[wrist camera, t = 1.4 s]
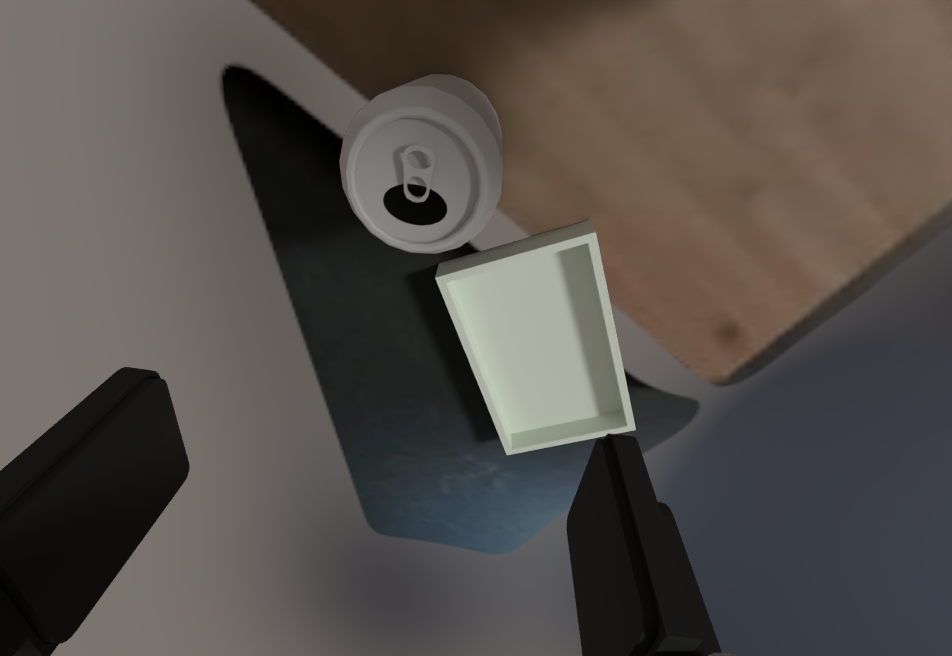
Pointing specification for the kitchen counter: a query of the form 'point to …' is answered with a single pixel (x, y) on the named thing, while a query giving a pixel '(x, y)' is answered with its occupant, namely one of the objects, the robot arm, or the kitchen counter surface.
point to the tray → (541, 338)
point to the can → (424, 164)
